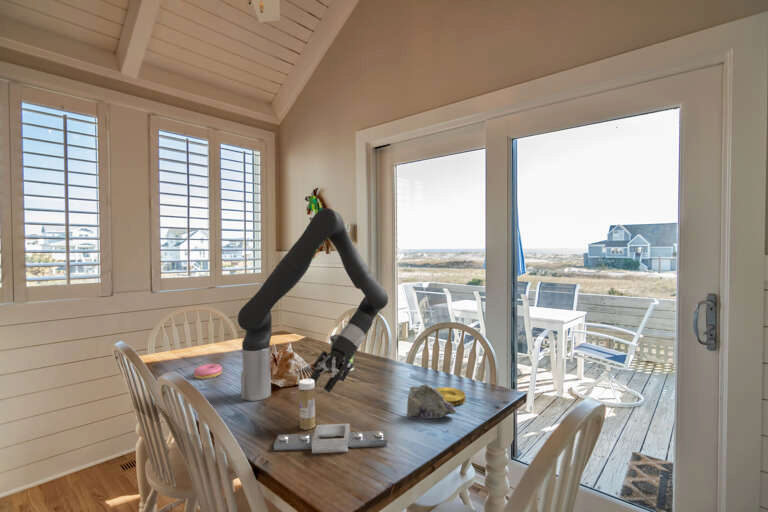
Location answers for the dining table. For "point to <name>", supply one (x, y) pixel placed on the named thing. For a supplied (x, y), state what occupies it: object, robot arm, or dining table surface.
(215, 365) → the doughnut
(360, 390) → the dining table surface
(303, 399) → the sprinkles bottle
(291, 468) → the dining table surface
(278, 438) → the left link bar
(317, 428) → the link socket
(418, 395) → the mineral rock
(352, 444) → the right link bar
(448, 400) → the gold slotted disc
